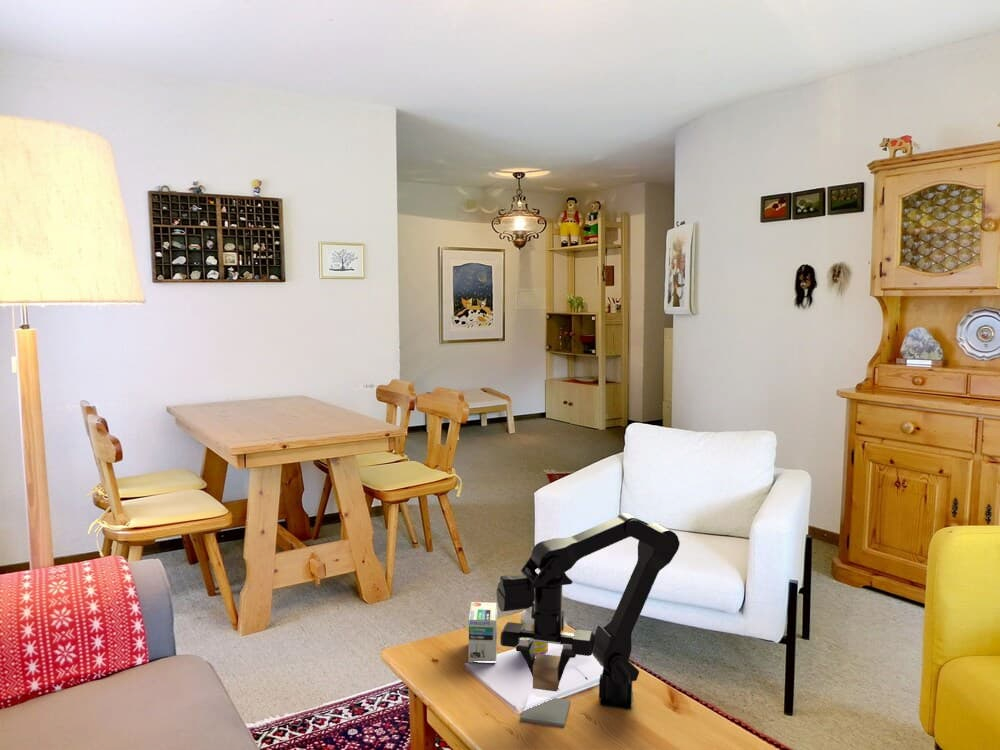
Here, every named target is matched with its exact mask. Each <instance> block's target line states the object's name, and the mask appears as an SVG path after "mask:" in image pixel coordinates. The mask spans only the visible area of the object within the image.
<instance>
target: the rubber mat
mask: <svg viewBox="0 0 1000 750" xmlns="http://www.w3.org/2000/svg"><path fill="white" fill-rule="evenodd" d="M553 698H554V699H552V700H549V701H547V702H544V703H542V704H540V705H537V706H534V707H532V708H529V709H527V710H525V711H523V710H522V712H521V715H520V718H519V721H521V722H527V723H534V724H540V725H549V726H556V727H562V728H565V726H566V721H567V718H568V714H569V710H570V707H571V706H570V705H571V699H570V700H569V699H564V698H557V697H553Z"/></svg>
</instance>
